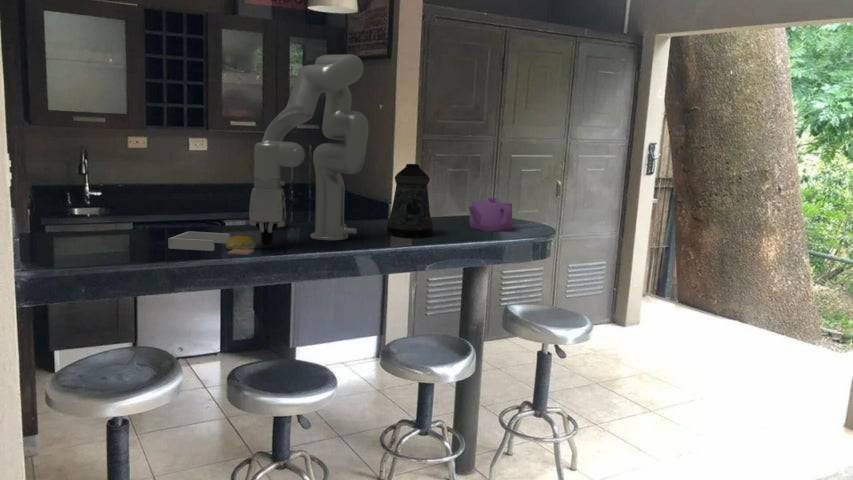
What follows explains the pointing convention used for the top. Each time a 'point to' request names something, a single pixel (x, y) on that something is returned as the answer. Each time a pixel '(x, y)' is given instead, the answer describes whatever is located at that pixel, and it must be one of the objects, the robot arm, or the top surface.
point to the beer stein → (410, 205)
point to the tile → (240, 251)
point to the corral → (197, 240)
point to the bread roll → (240, 243)
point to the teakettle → (491, 215)
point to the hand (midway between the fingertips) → (267, 244)
